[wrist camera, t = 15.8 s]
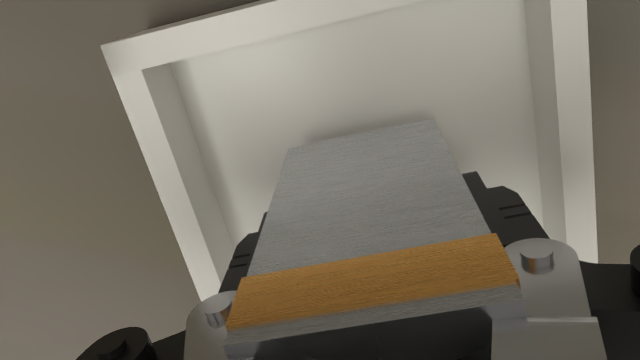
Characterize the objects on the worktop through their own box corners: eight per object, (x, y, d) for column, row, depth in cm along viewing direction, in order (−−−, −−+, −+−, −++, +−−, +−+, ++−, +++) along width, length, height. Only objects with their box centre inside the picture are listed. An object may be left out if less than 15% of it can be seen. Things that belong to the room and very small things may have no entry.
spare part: (286, 146, 14) (218, 344, 7) (434, 115, 14) (528, 295, 6) (320, 269, 16) (294, 537, 9) (455, 246, 15) (551, 512, 8)
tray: (144, 30, 16) (100, 45, 13) (537, -71, 14) (583, -78, 11) (252, 331, 20) (236, 391, 17) (563, 281, 18) (601, 338, 16)
